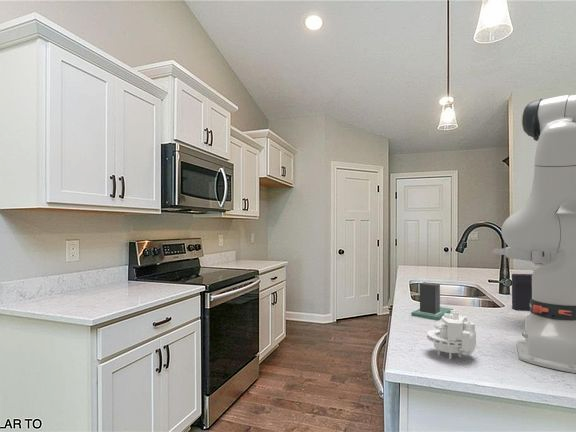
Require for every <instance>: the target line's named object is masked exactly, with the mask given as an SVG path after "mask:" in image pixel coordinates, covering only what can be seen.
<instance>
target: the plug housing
mask: <svg viewBox="0 0 576 432" xmlns="http://www.w3.org/2000/svg"><path fill="white" fill-rule="evenodd" d="M440 307H441V284H440V283H433V282H425V281H424V282H421V283H419V309H420V312H425V313H431V314H437V313H439V312H440Z"/></svg>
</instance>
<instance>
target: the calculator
mask: <svg viewBox="0 0 576 432" xmlns="http://www.w3.org/2000/svg"><path fill="white" fill-rule="evenodd" d="M532 274H533V273H512V274H511V308H512V309H513V310H515V311H525V312H528V311H529V312H530V299H531V298H532Z"/></svg>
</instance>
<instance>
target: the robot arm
mask: <svg viewBox="0 0 576 432" xmlns="http://www.w3.org/2000/svg"><path fill="white" fill-rule="evenodd" d="M521 126H522V129H523V132H524V133H525V134H526V135H527V136H528V137H531V138H533V140H534V141H535V142H537V145H536V149H535V155H534V169H533V180H532V185H531V186H532V187H531V191H530V194H529V196H528V199H527V200H526V202H525V203H524V204H523V206H522V207H521V208H519V209H518V210H517V211H516V212H514V213H513V214H512V215H510V216H509V217H507V218H506V219H505V220H504V222H503V223H502V226H501V237H502V239H503V241H504V243H505V244H506V245H507V246H506V247H505V248H503V247H502V248H501V247H500V248H493V249H492V254H494V255H501V256H505V258H507V259H513V260H521V261H527V262H532V264H534V265H535V266H538V267H537V268H536V269H534V270H533V271H532V273H531V274H532V298H531V299H530V311H529V314H528V315H526V316H525V318H524V332H522V334H521V335H522V337H523V338H525V339H524V340H522V339H521V340H520V339H519V340H516V343H515V344H516V349H517V355H518V356H517V357H518V359H520V360H521V361H524V362H526V363H529V364H531V365H532V364H533V365H536V366H540V367H544V368H548V369H552V370H556V371H557V370H558V371H562V372H567V373H574V374H576V94H564V95H557V96H553V97H548V98H545V99H543V98H539V99H536V100H534V101H531V102H529V103H527V105H526V106H525V107H524V108H523V112H522V115H521Z"/></svg>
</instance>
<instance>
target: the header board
mask: <svg viewBox="0 0 576 432" xmlns="http://www.w3.org/2000/svg"><path fill="white" fill-rule="evenodd" d="M450 310H453V308H449V307H443V306H440V312H439V313H437V314H431V313H425V312H420V308H418V309H416V310H414V311H412V312H411V313H410V315H411V316H412V317H417V318H422V319H427V320H428V319H429V320H434V321H440V320H441V317H442V316H444V314H445V313H449V314H450Z"/></svg>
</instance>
